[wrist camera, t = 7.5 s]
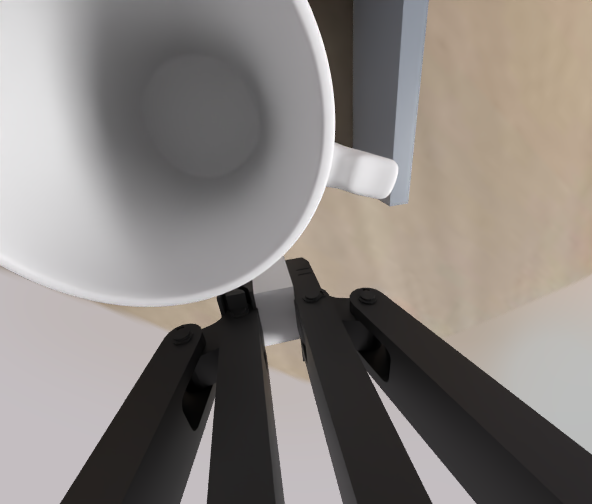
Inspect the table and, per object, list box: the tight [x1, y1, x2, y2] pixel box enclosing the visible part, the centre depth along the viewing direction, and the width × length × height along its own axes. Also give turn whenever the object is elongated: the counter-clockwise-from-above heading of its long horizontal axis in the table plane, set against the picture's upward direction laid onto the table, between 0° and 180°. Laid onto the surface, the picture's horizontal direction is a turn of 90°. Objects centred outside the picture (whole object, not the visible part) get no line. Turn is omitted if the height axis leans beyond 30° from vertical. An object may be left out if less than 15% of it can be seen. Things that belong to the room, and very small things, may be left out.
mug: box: [0, 0, 398, 307], centre depth 10 cm, size 10×7×12 cm, turn 77°
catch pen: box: [353, 0, 429, 206], centre depth 12 cm, size 11×15×5 cm
